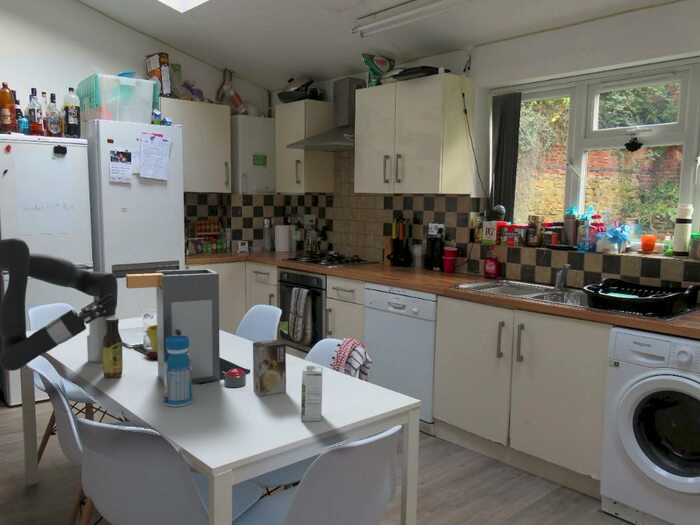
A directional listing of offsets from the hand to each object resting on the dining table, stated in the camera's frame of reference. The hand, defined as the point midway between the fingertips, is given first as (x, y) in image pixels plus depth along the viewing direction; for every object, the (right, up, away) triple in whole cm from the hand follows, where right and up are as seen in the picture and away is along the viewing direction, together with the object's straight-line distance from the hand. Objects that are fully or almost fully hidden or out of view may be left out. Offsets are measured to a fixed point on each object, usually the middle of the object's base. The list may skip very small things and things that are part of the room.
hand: (113, 298), depth 186 cm
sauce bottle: (-6, -28, +14) cm, 32 cm away
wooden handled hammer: (+16, +4, +7) cm, 18 cm away
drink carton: (+65, -33, -20) cm, 75 cm away
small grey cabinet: (+20, -28, +13) cm, 37 cm away
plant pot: (0, -24, +47) cm, 53 cm away
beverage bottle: (+24, -31, -10) cm, 40 cm away
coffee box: (+50, -30, +1) cm, 58 cm away
